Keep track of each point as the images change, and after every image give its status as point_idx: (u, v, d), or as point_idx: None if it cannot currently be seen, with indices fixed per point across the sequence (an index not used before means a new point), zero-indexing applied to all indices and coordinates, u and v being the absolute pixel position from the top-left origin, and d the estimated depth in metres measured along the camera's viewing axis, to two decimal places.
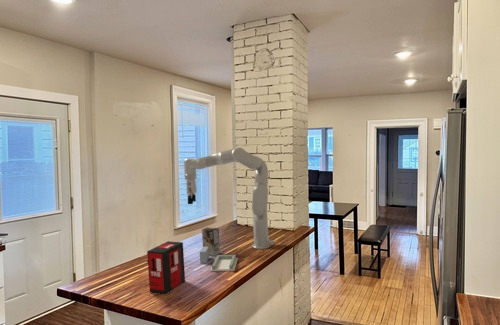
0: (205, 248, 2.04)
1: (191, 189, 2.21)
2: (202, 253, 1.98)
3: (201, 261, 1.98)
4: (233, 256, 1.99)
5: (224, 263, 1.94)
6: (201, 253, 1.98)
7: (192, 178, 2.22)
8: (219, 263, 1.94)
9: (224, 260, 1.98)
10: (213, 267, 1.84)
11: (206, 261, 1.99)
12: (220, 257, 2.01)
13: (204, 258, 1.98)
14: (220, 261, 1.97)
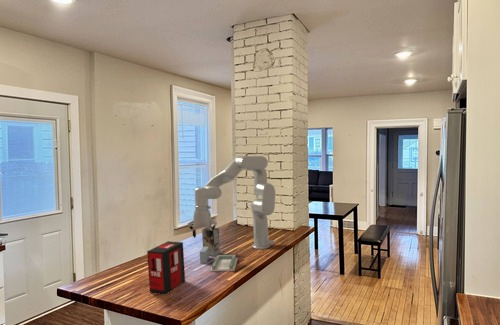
0: (205, 248, 2.04)
1: None
2: (202, 253, 1.98)
3: (201, 261, 1.98)
4: (233, 256, 1.99)
5: (224, 263, 1.94)
6: (201, 253, 1.98)
7: None
8: (219, 263, 1.94)
9: (224, 260, 1.98)
10: (213, 267, 1.84)
11: (206, 261, 1.99)
12: (220, 257, 2.01)
13: (204, 258, 1.98)
14: (220, 261, 1.97)
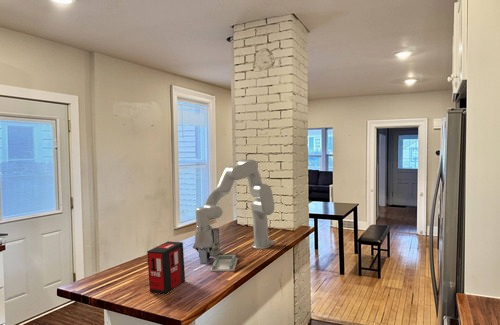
0: (205, 248, 2.04)
1: (212, 242, 2.03)
2: (202, 253, 1.98)
3: (201, 261, 1.98)
4: (233, 256, 1.99)
5: (224, 263, 1.94)
6: (201, 253, 1.98)
7: None
8: (219, 263, 1.94)
9: (224, 260, 1.98)
10: (213, 267, 1.84)
11: (206, 261, 1.99)
12: (220, 257, 2.01)
13: (204, 258, 1.98)
14: (220, 261, 1.97)
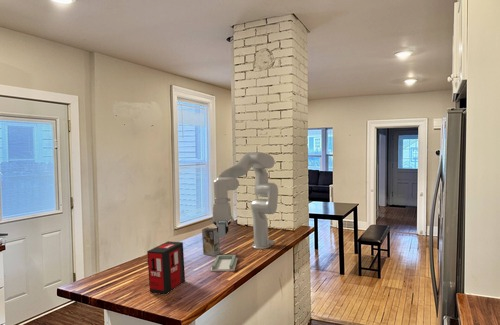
0: (223, 222, 1.93)
1: None
2: (220, 226, 1.87)
3: (219, 235, 1.87)
4: (233, 256, 1.99)
5: (224, 263, 1.94)
6: (219, 226, 1.87)
7: None
8: (219, 263, 1.94)
9: (224, 260, 1.98)
10: (213, 267, 1.84)
11: (225, 235, 1.88)
12: (220, 257, 2.01)
13: (223, 232, 1.87)
14: (220, 261, 1.97)
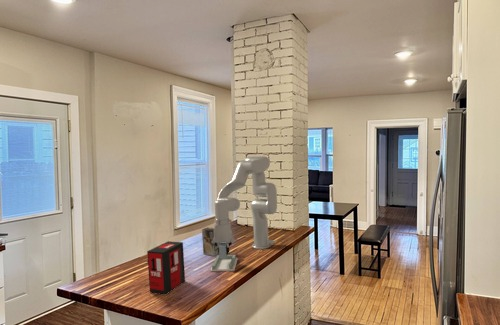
0: (224, 243, 1.94)
1: None
2: (221, 248, 1.88)
3: (220, 256, 1.88)
4: (233, 256, 1.99)
5: (224, 263, 1.94)
6: (220, 248, 1.88)
7: None
8: (219, 263, 1.94)
9: (224, 260, 1.98)
10: (213, 267, 1.84)
11: (225, 256, 1.88)
12: None
13: (223, 253, 1.88)
14: (220, 261, 1.97)
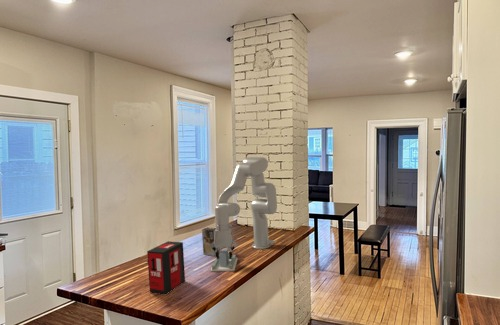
0: (225, 250, 1.94)
1: (232, 241, 1.93)
2: (222, 256, 1.88)
3: (221, 264, 1.88)
4: (233, 256, 1.99)
5: None
6: (221, 256, 1.88)
7: None
8: (219, 263, 1.94)
9: None
10: (213, 267, 1.84)
11: (226, 264, 1.89)
12: None
13: (224, 261, 1.88)
14: None
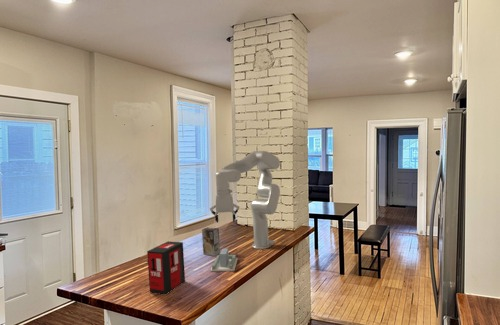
0: (225, 250, 1.94)
1: None
2: (222, 256, 1.88)
3: (221, 264, 1.88)
4: (233, 256, 1.99)
5: None
6: (221, 256, 1.88)
7: None
8: (219, 263, 1.94)
9: None
10: (213, 267, 1.84)
11: (226, 264, 1.89)
12: None
13: (224, 261, 1.88)
14: None
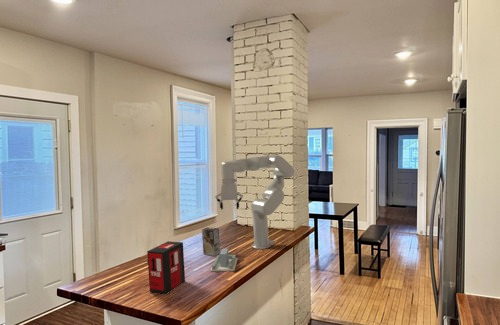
0: (225, 250, 1.94)
1: None
2: (222, 256, 1.88)
3: (221, 264, 1.88)
4: (233, 256, 1.99)
5: None
6: (221, 256, 1.88)
7: None
8: (219, 263, 1.94)
9: None
10: (213, 267, 1.84)
11: (226, 264, 1.89)
12: None
13: (224, 261, 1.88)
14: None
